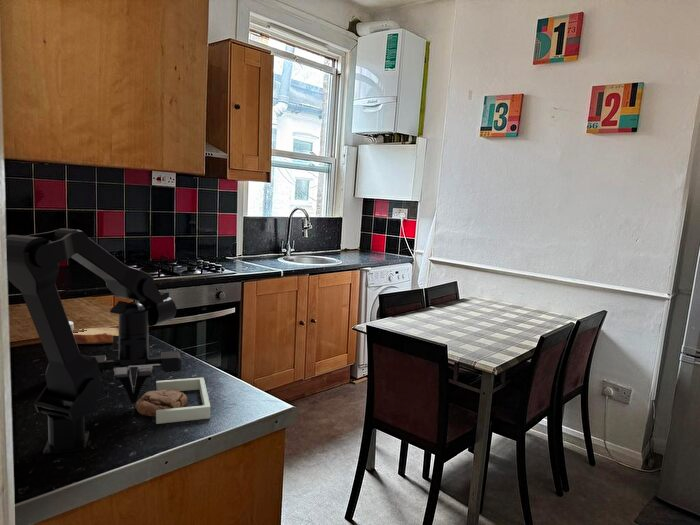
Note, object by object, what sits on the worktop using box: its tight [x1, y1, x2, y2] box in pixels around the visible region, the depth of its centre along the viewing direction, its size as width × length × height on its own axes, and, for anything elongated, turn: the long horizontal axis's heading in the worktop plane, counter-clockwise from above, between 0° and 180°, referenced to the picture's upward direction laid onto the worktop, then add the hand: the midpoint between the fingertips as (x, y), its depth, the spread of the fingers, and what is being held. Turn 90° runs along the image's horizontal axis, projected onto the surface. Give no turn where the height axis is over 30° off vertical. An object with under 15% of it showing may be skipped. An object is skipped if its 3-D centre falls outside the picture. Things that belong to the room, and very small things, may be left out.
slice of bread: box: [73, 326, 119, 345], centre depth 151 cm, size 18×18×4 cm
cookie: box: [134, 389, 188, 417], centre depth 108 cm, size 10×11×3 cm
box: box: [155, 377, 211, 425], centre depth 110 cm, size 17×10×2 cm, turn 21°
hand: (133, 402), depth 106 cm, fingers closed
